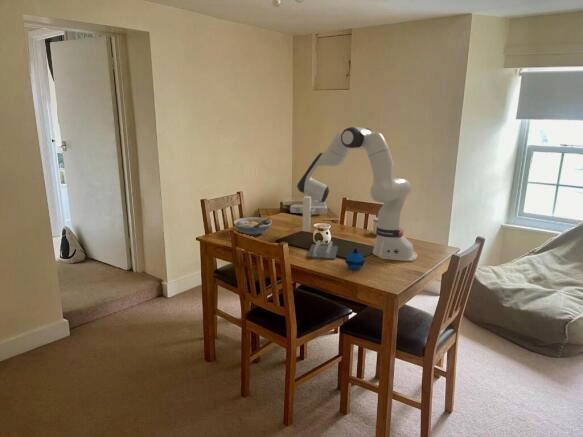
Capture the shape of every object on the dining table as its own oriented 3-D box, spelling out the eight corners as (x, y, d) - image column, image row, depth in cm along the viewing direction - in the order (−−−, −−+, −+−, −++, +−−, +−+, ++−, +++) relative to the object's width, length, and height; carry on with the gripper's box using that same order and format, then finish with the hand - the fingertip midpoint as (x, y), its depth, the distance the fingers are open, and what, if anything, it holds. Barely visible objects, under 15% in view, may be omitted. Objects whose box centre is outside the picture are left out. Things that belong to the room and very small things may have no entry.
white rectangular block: (304, 228, 236) (304, 196, 232) (310, 229, 236) (311, 196, 232) (302, 231, 232) (303, 197, 228) (309, 231, 231) (309, 198, 227)
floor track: (312, 246, 237) (312, 240, 236) (337, 247, 235) (338, 241, 234) (306, 257, 218) (306, 251, 217) (334, 259, 216) (335, 253, 215)
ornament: (352, 264, 209) (353, 245, 207) (367, 269, 204) (368, 249, 201) (341, 269, 203) (342, 248, 201) (356, 274, 197) (357, 253, 195)
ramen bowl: (243, 226, 274) (243, 214, 272) (278, 230, 267) (278, 217, 265) (226, 237, 251) (225, 223, 249) (262, 241, 244) (263, 227, 242)
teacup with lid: (381, 236, 258) (382, 217, 255) (369, 233, 264) (370, 214, 261) (393, 233, 265) (395, 214, 263) (381, 230, 272) (382, 211, 269)
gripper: (292, 200, 245) (287, 205, 232) (328, 202, 242) (325, 207, 229) (292, 211, 247) (287, 217, 234) (328, 213, 243) (325, 218, 230)
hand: (306, 212), depth 231 cm, fingers closed on white rectangular block, 3 cm apart
